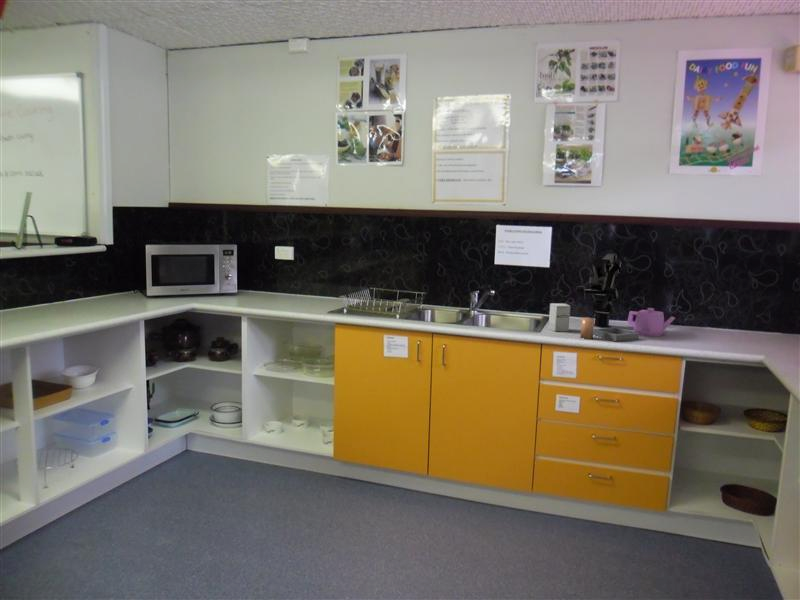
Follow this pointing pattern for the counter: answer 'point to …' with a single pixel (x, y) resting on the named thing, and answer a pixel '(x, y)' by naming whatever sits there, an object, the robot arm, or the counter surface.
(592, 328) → the orange-brown rounded cylinder
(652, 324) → the teakettle
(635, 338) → the tray
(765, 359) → the counter surface
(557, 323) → the grey box
